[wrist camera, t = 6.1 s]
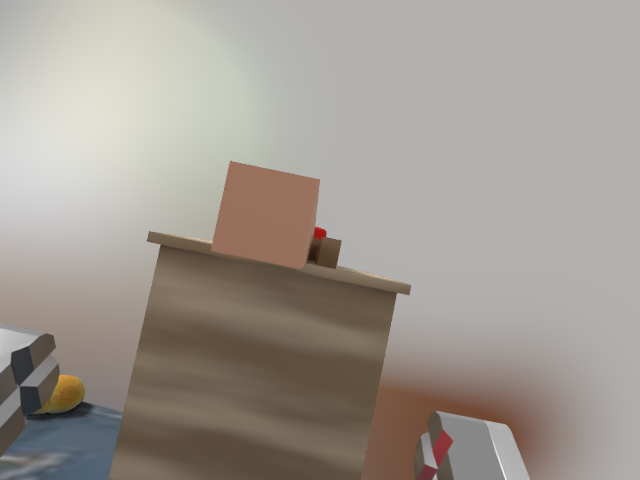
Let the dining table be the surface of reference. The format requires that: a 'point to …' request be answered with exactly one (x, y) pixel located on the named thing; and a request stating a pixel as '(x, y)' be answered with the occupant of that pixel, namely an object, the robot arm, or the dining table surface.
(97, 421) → the dining table surface
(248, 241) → the pinkish brown square bar
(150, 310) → the stand
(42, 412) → the bread roll
